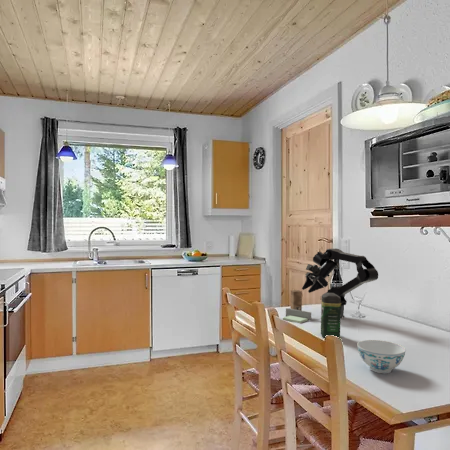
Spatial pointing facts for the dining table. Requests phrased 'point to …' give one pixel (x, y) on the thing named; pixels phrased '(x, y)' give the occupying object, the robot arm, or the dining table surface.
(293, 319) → the green pad
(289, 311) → the grey rail
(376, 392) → the dining table surface
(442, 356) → the dining table surface
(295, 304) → the walnut block
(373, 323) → the dining table surface
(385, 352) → the chinaware
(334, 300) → the coffee jar
